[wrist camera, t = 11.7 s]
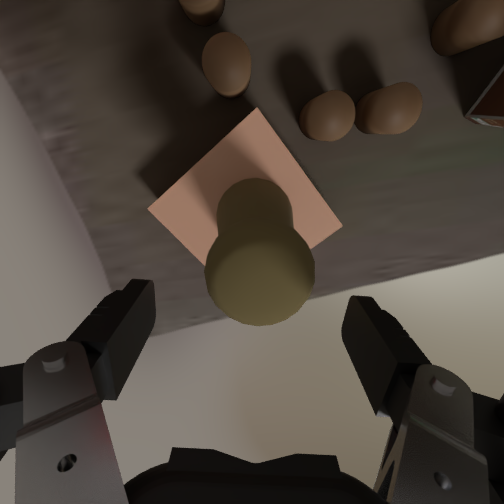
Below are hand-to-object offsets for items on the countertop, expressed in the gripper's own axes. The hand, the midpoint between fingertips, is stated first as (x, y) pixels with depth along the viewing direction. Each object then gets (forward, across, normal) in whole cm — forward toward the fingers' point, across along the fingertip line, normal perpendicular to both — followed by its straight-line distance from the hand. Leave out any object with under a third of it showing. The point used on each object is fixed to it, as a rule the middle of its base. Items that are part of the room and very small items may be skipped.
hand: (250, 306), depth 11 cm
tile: (+14, 0, 0) cm, 15 cm away
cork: (+12, 0, 0) cm, 12 cm away
